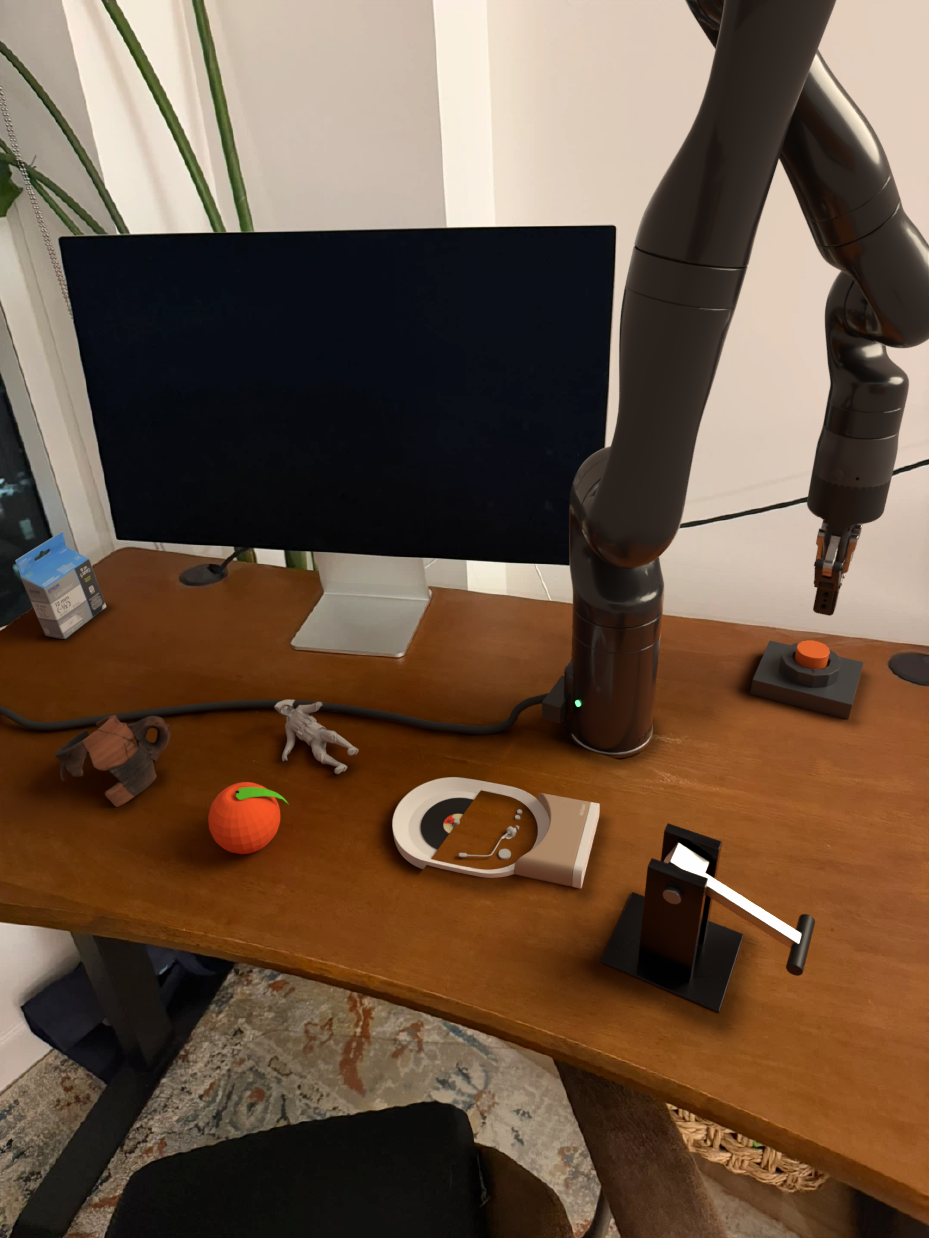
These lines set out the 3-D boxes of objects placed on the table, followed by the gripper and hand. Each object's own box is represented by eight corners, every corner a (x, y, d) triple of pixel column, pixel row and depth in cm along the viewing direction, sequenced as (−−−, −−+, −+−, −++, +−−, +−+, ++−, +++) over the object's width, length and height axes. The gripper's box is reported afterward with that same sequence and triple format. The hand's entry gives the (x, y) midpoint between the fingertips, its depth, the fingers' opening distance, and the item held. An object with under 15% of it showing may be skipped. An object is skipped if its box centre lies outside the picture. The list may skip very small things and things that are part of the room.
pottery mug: (92, 829, 89) (44, 767, 87) (93, 806, 98) (49, 749, 95) (193, 760, 92) (148, 699, 90) (185, 744, 101) (144, 687, 99)
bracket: (742, 942, 73) (763, 840, 66) (717, 1020, 67) (738, 917, 60) (631, 899, 77) (640, 799, 70) (599, 969, 72) (605, 867, 65)
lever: (806, 930, 67) (822, 916, 65) (793, 981, 63) (810, 968, 62) (670, 845, 69) (683, 829, 68) (651, 889, 66) (663, 874, 64)
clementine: (297, 810, 89) (286, 760, 85) (295, 861, 83) (283, 810, 79) (219, 821, 88) (205, 771, 84) (212, 873, 82) (196, 822, 79)
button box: (750, 694, 101) (754, 667, 99) (767, 654, 108) (771, 628, 105) (848, 719, 96) (855, 692, 94) (860, 676, 103) (866, 649, 101)
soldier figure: (320, 796, 92) (244, 731, 96) (340, 794, 97) (266, 732, 100) (360, 737, 92) (282, 674, 96) (378, 738, 96) (303, 678, 100)
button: (791, 665, 100) (794, 653, 99) (797, 649, 102) (800, 637, 101) (824, 673, 98) (826, 661, 97) (829, 656, 101) (832, 644, 100)
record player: (579, 882, 75) (372, 839, 81) (578, 905, 77) (376, 861, 83) (601, 791, 85) (415, 758, 90) (601, 813, 86) (417, 779, 92)
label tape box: (65, 640, 119) (36, 564, 112) (42, 636, 120) (12, 560, 113) (108, 608, 125) (83, 534, 119) (86, 604, 127) (60, 530, 120)
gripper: (883, 500, 80) (849, 649, 90) (900, 450, 90) (868, 589, 99) (800, 488, 84) (776, 633, 93) (825, 441, 93) (801, 577, 102)
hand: (823, 610), depth 96 cm, fingers closed
